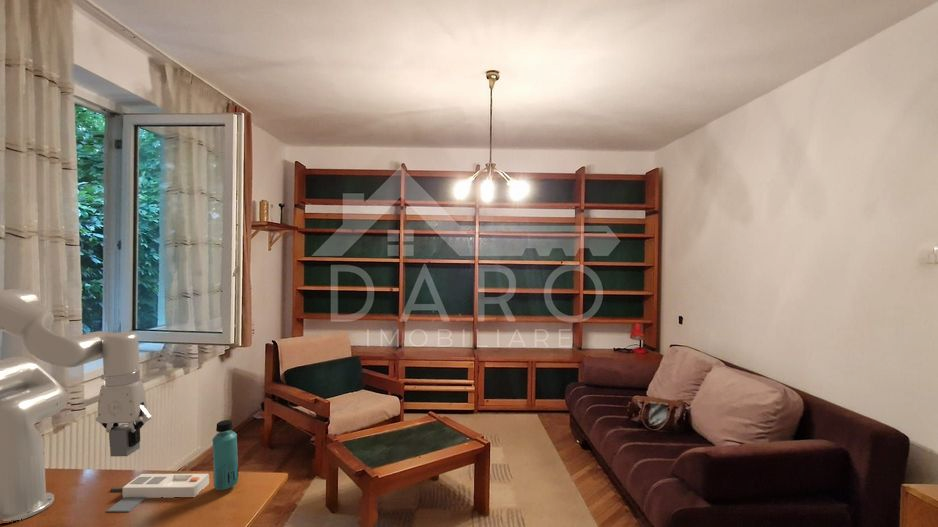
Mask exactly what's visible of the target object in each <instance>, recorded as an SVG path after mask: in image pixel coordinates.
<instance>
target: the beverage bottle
mask: <svg viewBox="0 0 938 527" xmlns="http://www.w3.org/2000/svg"><path fill="white" fill-rule="evenodd" d="M232 429H233V421H232V420H231V419H225V420H221V421H218V422H217V423H216V429H215V431H216V432H218V433H216V435H215V436H214V437H213V438H212V439H211V440H212V454H213V456H212V459H213V460H212V464H213V466H212V472H213V480H212V481H213V482H212V484H213V487H214V489H215V490H217V491H218V490H219V491H220V490H221V491H222V490H228V489H230V488H233V487H234V486H236V485H237V484H238V482H239V476H240V475H239V472H240V471H239V464H238V463H239V460H238V458H239V457H238V447H239V446H238V434H237V433H236V432H235V431H233V430H232Z"/></svg>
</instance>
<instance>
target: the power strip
mask: <svg viewBox="0 0 938 527" xmlns="http://www.w3.org/2000/svg"><path fill="white" fill-rule="evenodd" d="M208 485H210V473H140V474H139V475H138V476H136V477H135V478H134V479H132V480H131V481H129V482H128V483H126V485H124V486H123V487H112V488H110V492H122V499H123V498H124V497H146V499H156V498H157V499H161V497H163V499H165V498H166V499H167V498H169V499H172V498H173V499H175V498H174V497H194V498H195V497H197V495H199V494H200V493H201V492H202V491H203V490H204V489H205V488H206V487H207V486H208ZM202 489H203V490H202ZM201 490H202V491H201ZM200 491H201V492H200ZM199 492H200V493H199Z"/></svg>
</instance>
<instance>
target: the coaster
mask: <svg viewBox="0 0 938 527" xmlns="http://www.w3.org/2000/svg"><path fill="white" fill-rule="evenodd" d="M146 499H147V498H146V497H124V498H123V497H122V498H121V499H120V500H119V501H117V502H116V503H114V504H113V505H112V506H110V508H108V509H106V513H130V512H131V511H132V510H134V509H135V508H136V507H137V506H139V505H140V504H141V503H142V502H144V501H145V500H146Z"/></svg>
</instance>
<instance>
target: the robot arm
mask: <svg viewBox="0 0 938 527" xmlns="http://www.w3.org/2000/svg"><path fill="white" fill-rule="evenodd" d="M54 321H55V318H54V314H53V312H51V311H50V310H47V309H46V308H42V300H41V298H40V296H39V295H38V294H36V292H34V291H33V290H30V289H27V288H21V287H19V288H10V289H9V288H8V289H0V331H1V332H3V333H7V334H9V335H11V336H13V337H16V338H19V339H21V341H22V344H23V346H24V347H25V350H27V352H28V353H29V354H30V355H31V356H32V357H34V358H36V359H38V360H40V361H43V362H45V363H48V364H50V365H53V366H56V367H60V368H66V369H67V368H68V369H71V368H76V367H80V366H83V365H85V364H89V363H92V362H94V361H95V362H96V361H99V360H101V359H102V366H103V368H102V369H103V374H102V375H101V376H100V379H101V380H103V384H102V385H100V389H99V394H98V402H97V416H96V418H95V421H96V422H98V423H99V424H100V425H101V426H102V427H103V428H104V429H106V430H105V432H106V433H108V438H109V439H108V440H109V442H110V434H109V431H110V430H112V429H114V428H116V427H118V426H120V424H129V428H130V431H131V432H129V434H128V435H129V447H133V446H134V445H136V444H137V443H139V442H140V443H141V429H142V428H143V426H144V425H145V424H146V423H147V422H149V421H150V420H152V418H153V416H152V415H151V413H149V411H148V408H147V405H148V404H147V397H146V391H145V387H144V383H143V381H141V374H140V373H141V372H140V371H141V370H140V368H141V367H140V346H139V336H138V334H137V333H135V332H132V331H123V332H114V331H113V332H111V331H105V330H99V331H98V330H97V331H92V332H88V333H84V334H81V335H76V336H72V337H66V336H63V335H61V334H58V333H55V332H53V331H52V330H50V329H51V328H52V326H53V323H54ZM8 394H10V395H8ZM1 397H2V398H1ZM68 399H69V398H68V393H67V391H66V389H65V388H64V387H63V385H61V384H60V383H59V382H58V380H56V379H55V378H54V377H53V376H52V375H51V374H50V373H49V372H47V371H46V369H45V368H43V367H42V366H41V365H40V364H39V363H38V362H36V361H35V360H34V359H31V358H28V357H24V356H12V357H8V358H3V359H0V520H3V521H11V520H19V521H22V520H25V519H27V518H28V519H29V518H30V517H32V516H35V515H37V514H39V513H41V512H43V511H44V510H45V509H47V508H49V507H50V506H51V505H52V504H53V503H54V501H55V495H54V494H53V493H52V492H47V489H46V488H47V486H46V468H45V467H46V466H45V447H44V446H45V444H44V443H45V442H44V438H43V436H42V434H41V432H39V430H38V429H37V428H36V427H35V425H36V424H38V423H39V422H42V421H44V420H45V419H48V418H50V417H52V416H54V415H56V414H58V413H60V412H61V411H62V410H63V409H64V408H65V407H66V406H67V403H68V401H69V400H68ZM141 418H142V419H141ZM135 424H136V425H135ZM21 519H22V520H21Z"/></svg>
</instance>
